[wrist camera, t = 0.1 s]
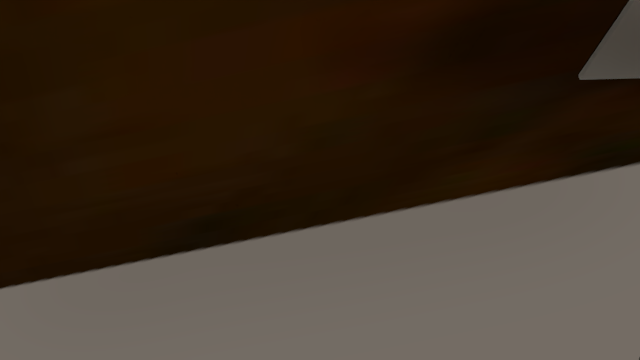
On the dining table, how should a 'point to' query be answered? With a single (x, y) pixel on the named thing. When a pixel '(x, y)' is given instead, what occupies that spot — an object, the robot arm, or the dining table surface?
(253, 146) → the dining table surface
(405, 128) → the dining table surface
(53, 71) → the dining table surface
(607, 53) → the card
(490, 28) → the dining table surface
